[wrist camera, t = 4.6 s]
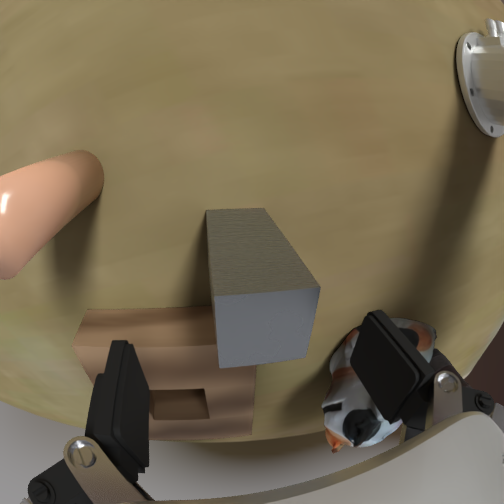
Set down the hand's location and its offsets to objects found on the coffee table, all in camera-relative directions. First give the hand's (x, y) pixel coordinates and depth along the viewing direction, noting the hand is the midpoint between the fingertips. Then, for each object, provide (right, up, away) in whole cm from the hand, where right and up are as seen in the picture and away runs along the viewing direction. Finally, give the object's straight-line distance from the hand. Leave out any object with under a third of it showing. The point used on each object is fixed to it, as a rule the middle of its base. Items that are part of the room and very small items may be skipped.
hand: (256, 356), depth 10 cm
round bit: (-12, +9, +5) cm, 16 cm away
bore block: (-8, -8, +15) cm, 18 cm away
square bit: (-1, +5, +9) cm, 11 cm away
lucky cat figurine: (+13, -9, +20) cm, 25 cm away
